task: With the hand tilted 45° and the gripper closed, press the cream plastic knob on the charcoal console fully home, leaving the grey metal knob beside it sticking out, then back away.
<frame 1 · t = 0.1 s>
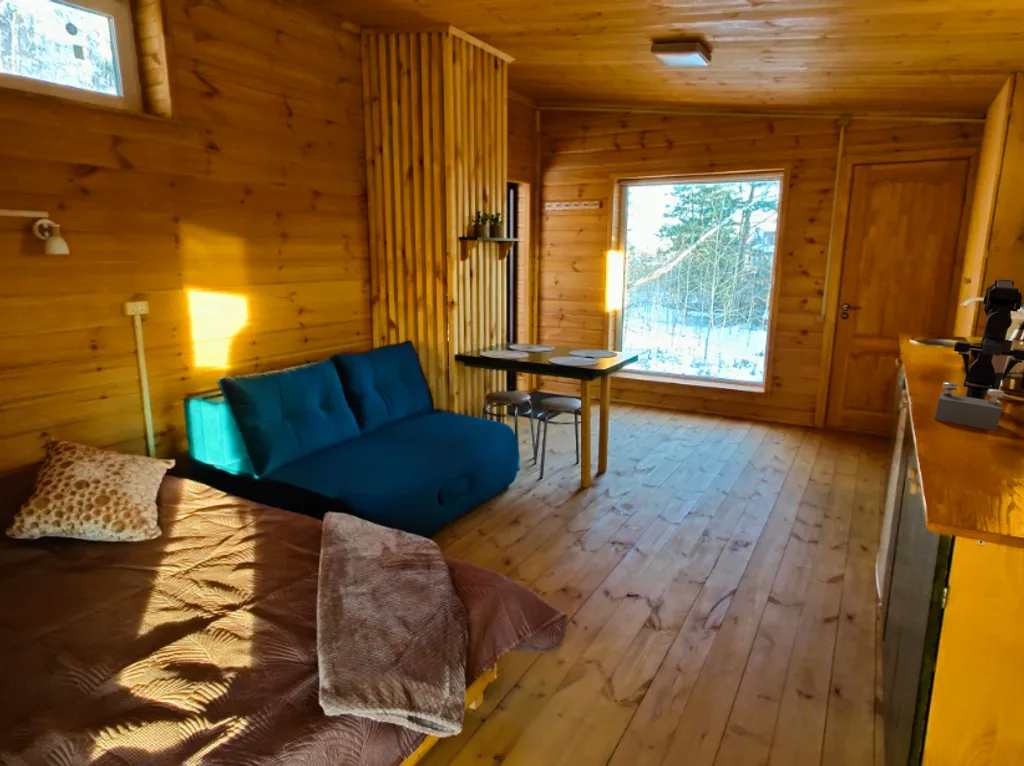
hand: (984, 377, 200), 15 cm above the counter, tool pointing down, fingers open, 9 cm apart
cream knob: (994, 397, 201), point 9 cm above the counter, slide at 0.0 cm
grey knob: (948, 389, 207), point 9 cm above the counter, slide at 0.0 cm
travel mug: (985, 392, 246), on the counter
console: (965, 421, 204), on the counter
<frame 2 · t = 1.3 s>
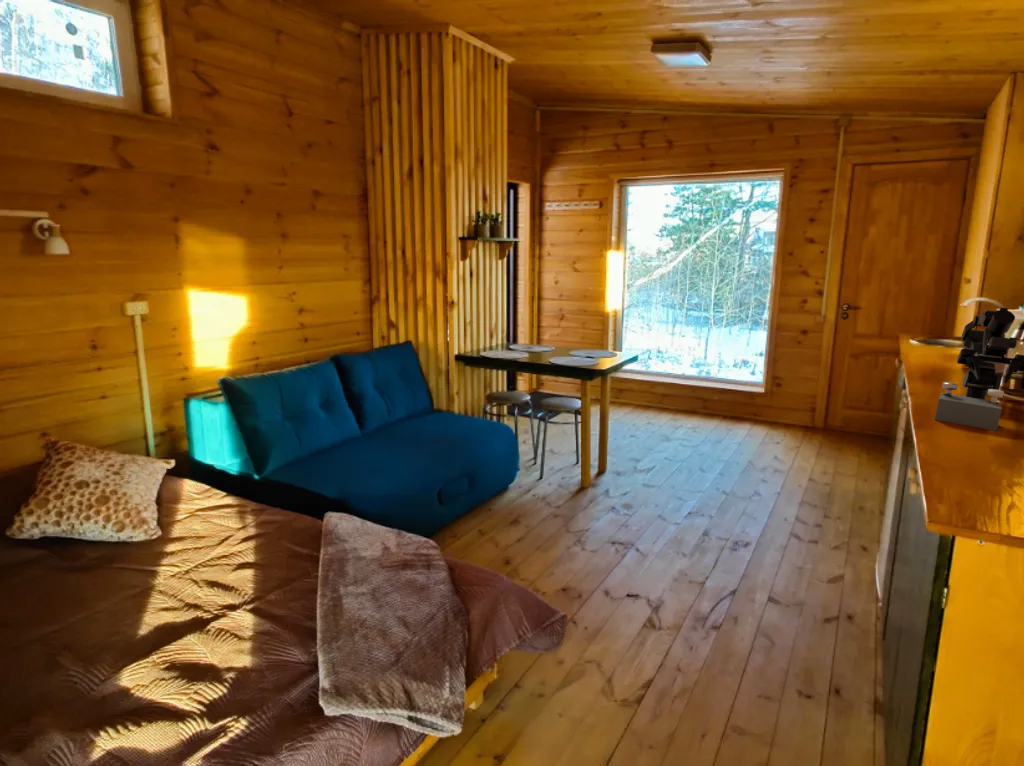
hand: (992, 380, 207), 12 cm above the counter, tool tilted 45°, fingers open, 7 cm apart
nothing on the counter moved.
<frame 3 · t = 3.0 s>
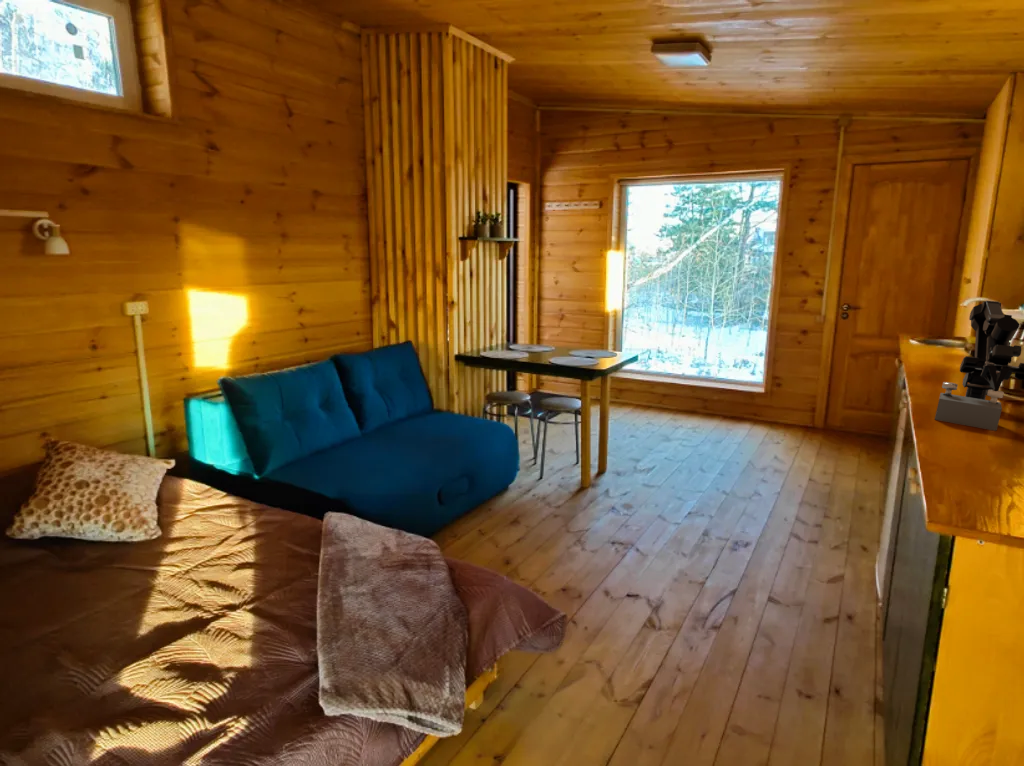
hand: (996, 390, 200), 11 cm above the counter, tool tilted 45°, fingers closed, pressing on cream knob
cream knob: (994, 397, 201), point 9 cm above the counter, slide at 0.2 cm, touching gripper
everything else where it was.
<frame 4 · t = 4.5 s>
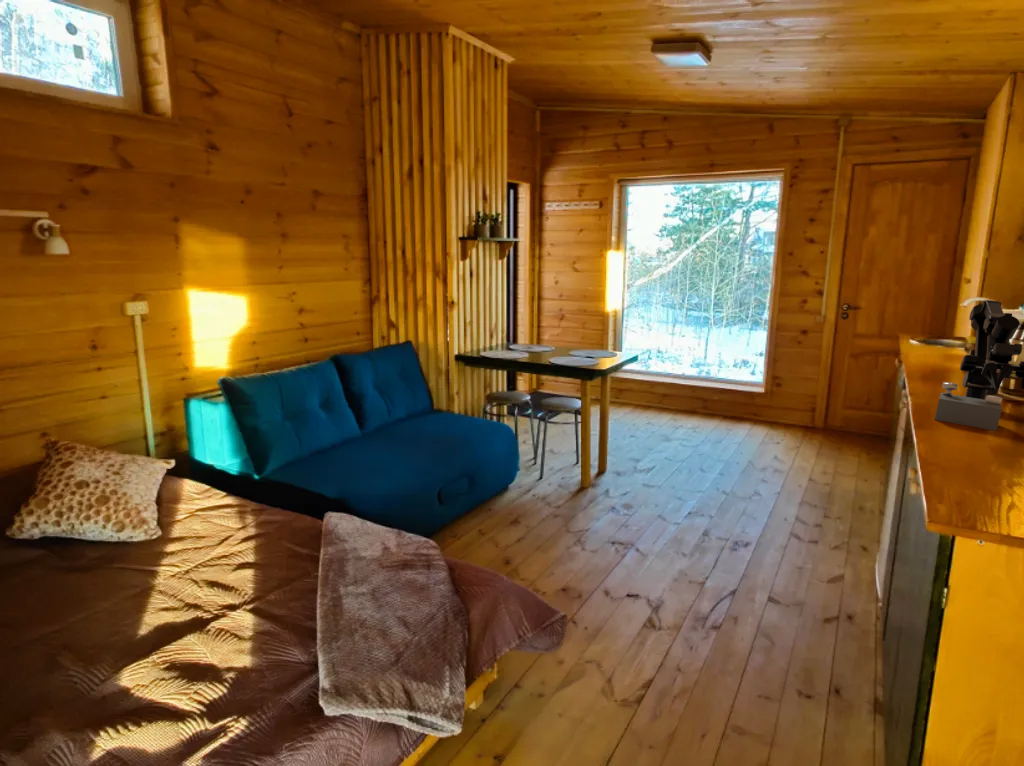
hand: (996, 388, 200), 12 cm above the counter, tool tilted 45°, fingers closed
cream knob: (993, 403, 201), point 7 cm above the counter, slide at 2.1 cm
everything else where it was.
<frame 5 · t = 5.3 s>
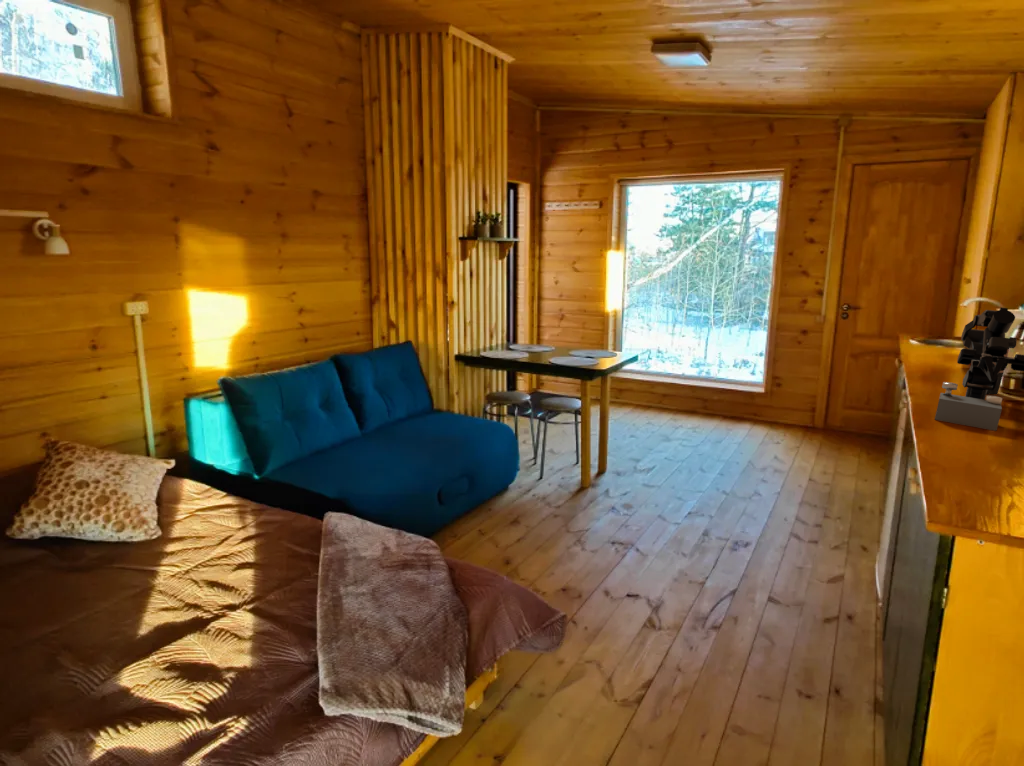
hand: (992, 380, 207), 12 cm above the counter, tool tilted 45°, fingers closed
nothing on the counter moved.
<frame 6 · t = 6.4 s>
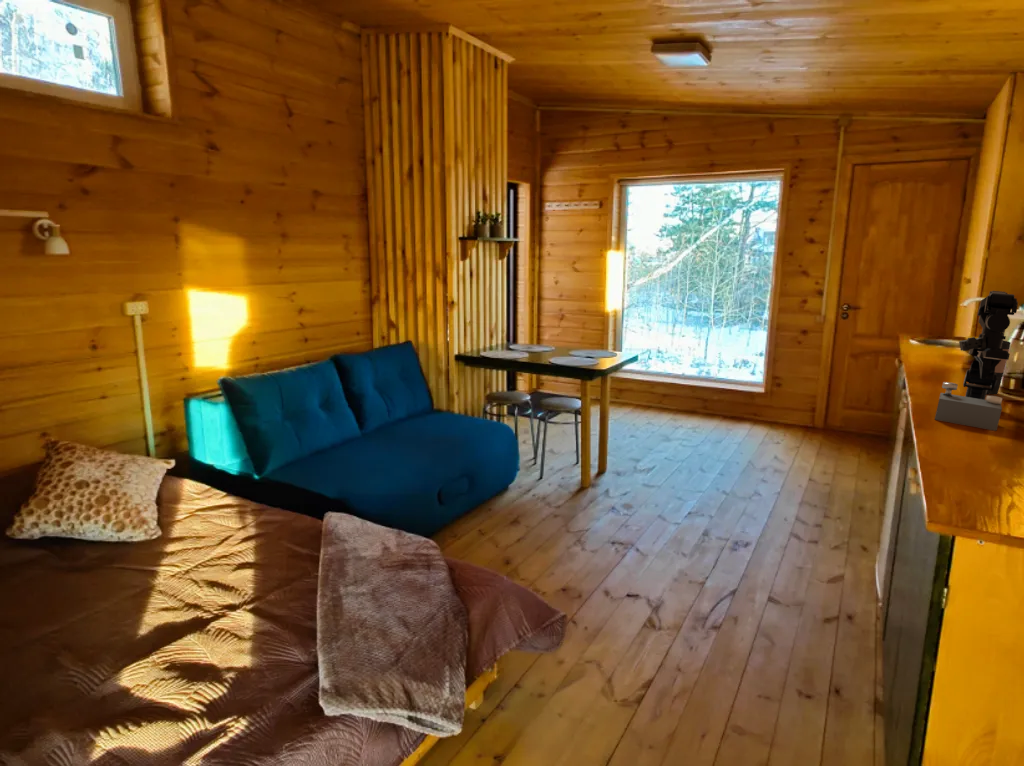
hand: (982, 378, 212), 12 cm above the counter, tool pointing down, fingers closed
nothing on the counter moved.
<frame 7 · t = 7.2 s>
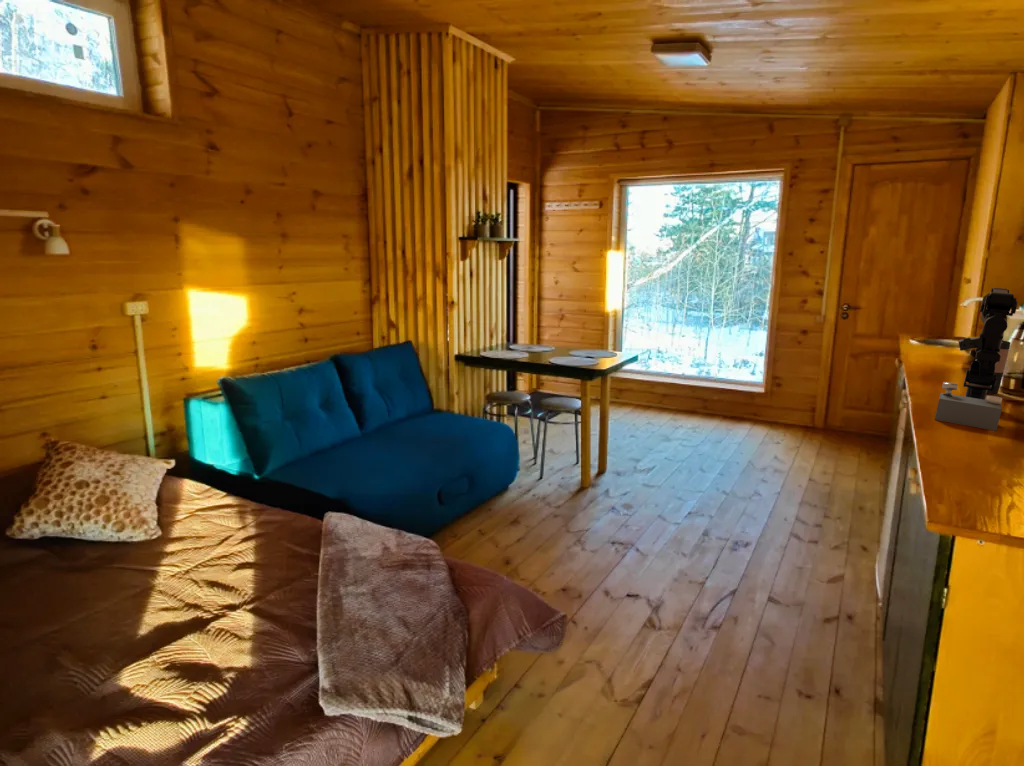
hand: (981, 377, 213), 12 cm above the counter, tool pointing down, fingers closed
nothing on the counter moved.
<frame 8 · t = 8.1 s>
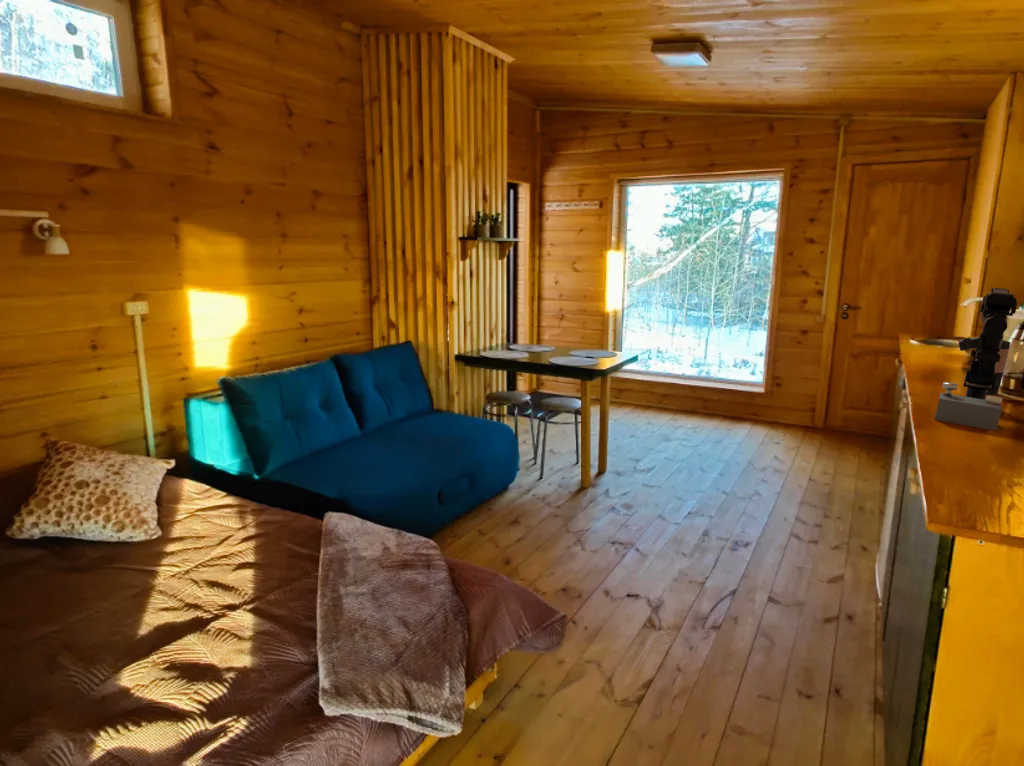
hand: (981, 377, 213), 12 cm above the counter, tool pointing down, fingers closed
nothing on the counter moved.
at the end: cream knob slide at 2.1 cm; grey knob slide at 0.0 cm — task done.
